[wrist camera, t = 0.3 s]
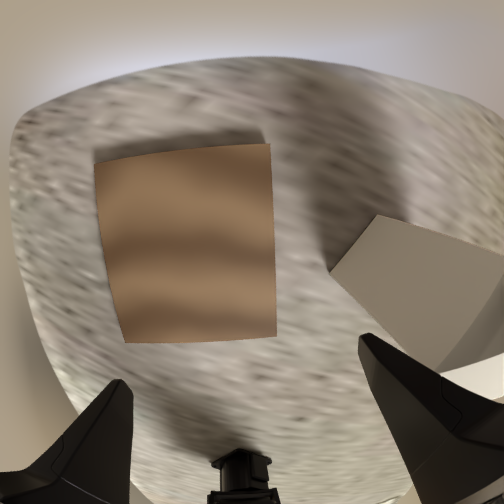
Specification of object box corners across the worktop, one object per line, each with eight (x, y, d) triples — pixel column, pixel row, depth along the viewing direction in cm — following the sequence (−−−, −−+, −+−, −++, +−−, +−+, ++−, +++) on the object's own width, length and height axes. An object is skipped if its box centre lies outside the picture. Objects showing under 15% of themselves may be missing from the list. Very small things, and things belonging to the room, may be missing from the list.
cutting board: (274, 327, 25) (276, 336, 23) (129, 334, 24) (125, 342, 22) (267, 146, 21) (269, 143, 19) (101, 164, 20) (94, 164, 18)
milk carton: (371, 312, 25) (493, 444, 7) (327, 272, 24) (475, 431, 5) (414, 259, 24) (563, 346, 6) (376, 213, 23) (569, 283, 4)
